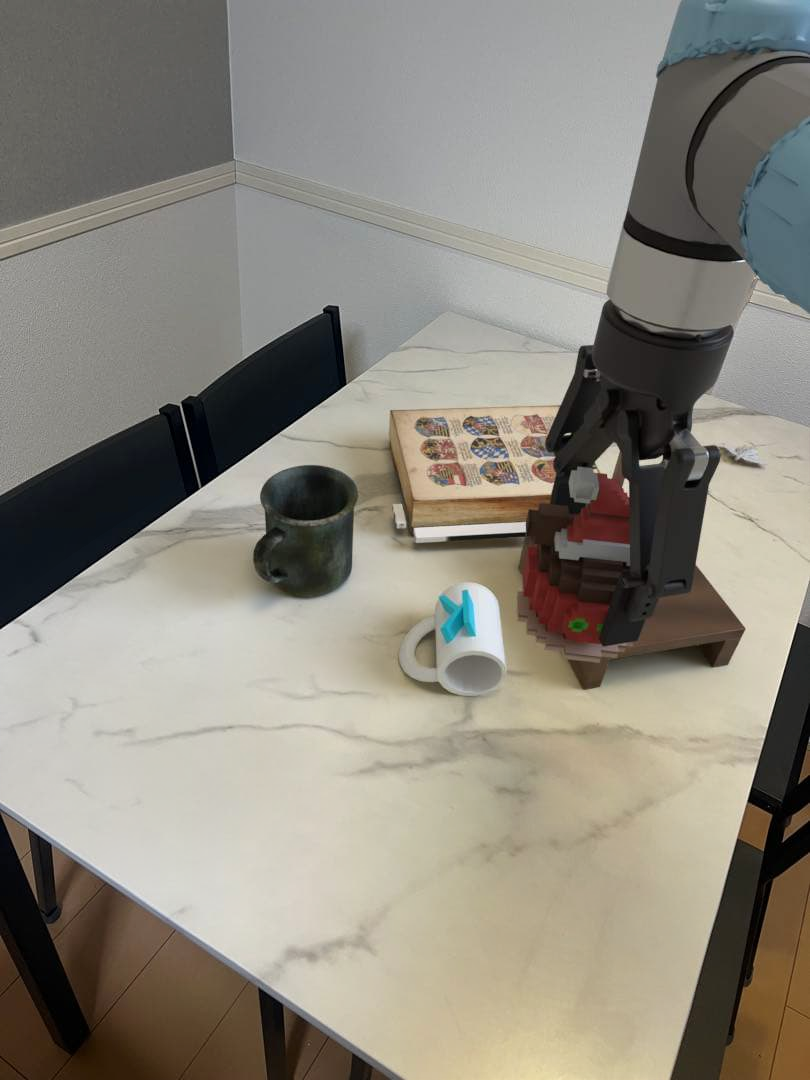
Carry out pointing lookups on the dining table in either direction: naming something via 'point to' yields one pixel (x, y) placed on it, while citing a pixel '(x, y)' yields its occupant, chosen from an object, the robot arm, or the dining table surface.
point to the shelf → (674, 627)
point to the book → (471, 470)
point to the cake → (576, 566)
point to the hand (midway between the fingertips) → (586, 588)
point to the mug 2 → (461, 642)
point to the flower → (745, 453)
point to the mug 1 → (307, 530)
